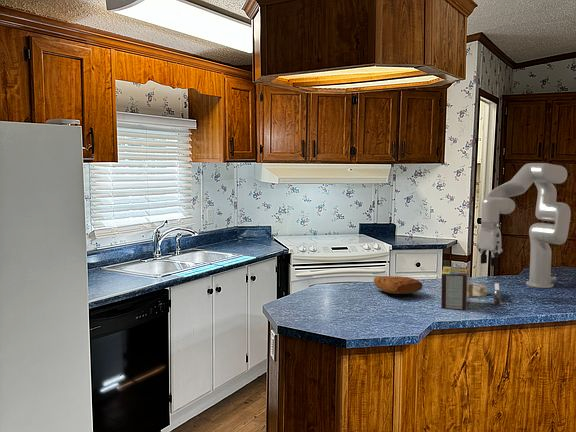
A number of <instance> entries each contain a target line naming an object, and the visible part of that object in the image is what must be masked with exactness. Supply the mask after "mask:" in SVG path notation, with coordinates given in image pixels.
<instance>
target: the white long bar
mask: <svg viewBox="0 0 576 432" xmlns="http://www.w3.org/2000/svg"><path fill="white" fill-rule="evenodd" d="M494 290H500V283H498V282H496V283H495V282H494Z"/></svg>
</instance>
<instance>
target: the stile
mask: <svg viewBox="0 0 576 432" xmlns="http://www.w3.org/2000/svg"><path fill="white" fill-rule="evenodd" d="M473 286H474V284H473V283H470V282H467V298H473V295H474V294H473Z"/></svg>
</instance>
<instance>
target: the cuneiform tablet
mask: <svg viewBox="0 0 576 432" xmlns="http://www.w3.org/2000/svg"><path fill="white" fill-rule="evenodd" d="M373 281H374V285H375V287H376V288H378V289H379V290H380V291H383V292H385V293H388V294H393V295H395V294H396V295H405V294H412V293H416V292H419V291H421V290H422V289H423V283H422V282H421V281H420V280H418V279H415V278H412V277H408V276H396V275H395V276H391V275H385V276H375V277H374V278H373Z"/></svg>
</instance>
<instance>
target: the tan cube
mask: <svg viewBox="0 0 576 432" xmlns="http://www.w3.org/2000/svg"><path fill="white" fill-rule="evenodd" d="M473 295H475V296H477V297H483V296H487V295H488V287H487V286H485V285H481V284H477V285H473Z"/></svg>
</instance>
